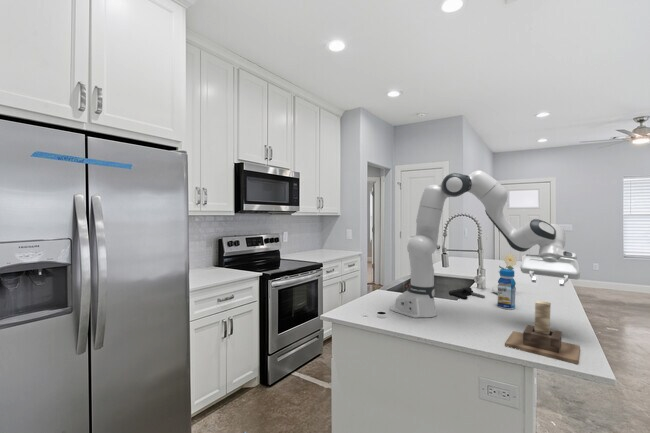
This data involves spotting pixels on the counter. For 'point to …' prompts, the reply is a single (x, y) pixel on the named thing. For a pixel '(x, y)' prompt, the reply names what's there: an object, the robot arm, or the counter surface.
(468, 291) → the door handle
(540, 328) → the upright wooden square peg
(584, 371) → the counter surface
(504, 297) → the beverage bottle
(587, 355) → the counter surface
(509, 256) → the flower in vase
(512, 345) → the square hole base plate
